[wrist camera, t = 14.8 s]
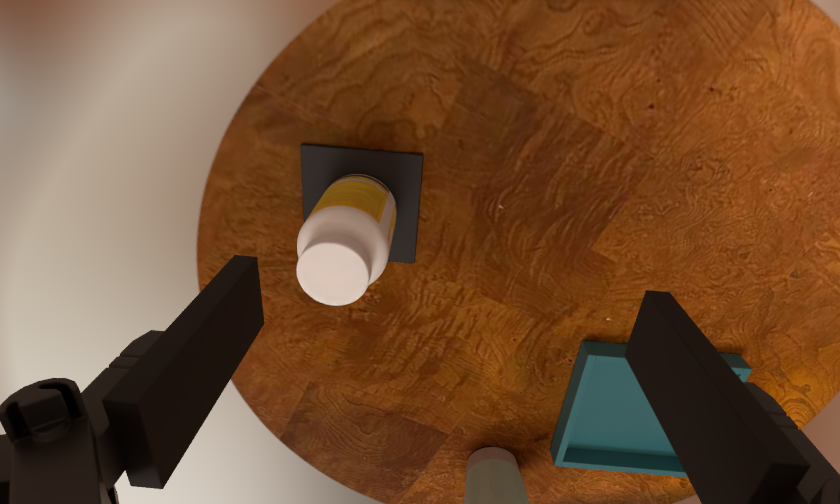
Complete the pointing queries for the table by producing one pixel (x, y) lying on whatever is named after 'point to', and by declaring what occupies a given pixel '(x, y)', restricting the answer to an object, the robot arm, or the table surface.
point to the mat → (384, 166)
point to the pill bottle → (346, 239)
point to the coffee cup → (494, 478)
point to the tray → (615, 416)
